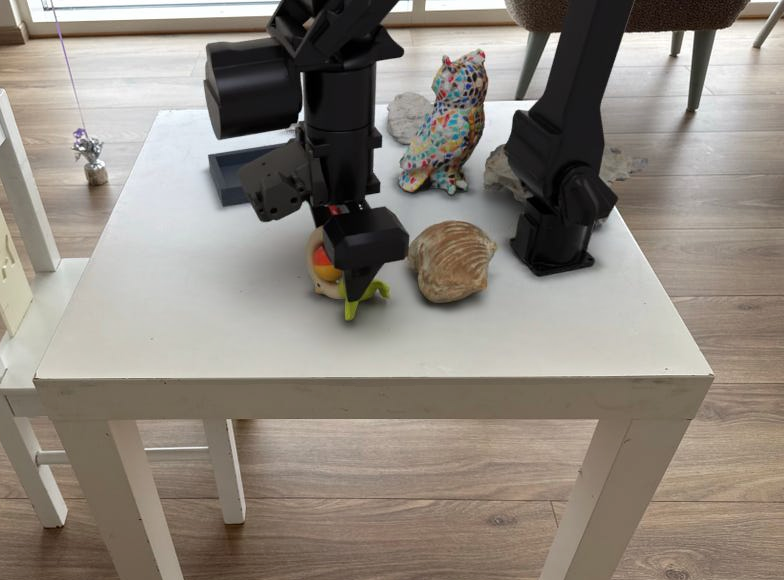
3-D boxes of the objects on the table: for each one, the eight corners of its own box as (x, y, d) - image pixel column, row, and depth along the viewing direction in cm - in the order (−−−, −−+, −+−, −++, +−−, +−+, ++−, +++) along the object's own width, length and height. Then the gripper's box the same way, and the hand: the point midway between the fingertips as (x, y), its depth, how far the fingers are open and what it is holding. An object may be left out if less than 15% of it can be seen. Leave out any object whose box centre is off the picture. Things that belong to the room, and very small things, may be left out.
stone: (413, 136, 92) (369, 92, 97) (407, 166, 96) (365, 122, 101) (475, 115, 95) (430, 73, 100) (466, 144, 99) (423, 103, 104)
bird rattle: (301, 325, 72) (367, 332, 66) (263, 219, 68) (329, 214, 61) (344, 296, 76) (410, 300, 69) (310, 193, 71) (377, 187, 65)
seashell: (475, 263, 77) (399, 263, 76) (489, 202, 72) (408, 201, 72) (499, 315, 69) (415, 316, 69) (515, 251, 65) (426, 250, 64)
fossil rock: (463, 171, 87) (514, 247, 77) (478, 126, 83) (534, 199, 73) (612, 174, 92) (678, 246, 82) (632, 132, 88) (704, 202, 78)
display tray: (299, 157, 94) (298, 140, 93) (318, 190, 88) (317, 173, 86) (210, 171, 92) (207, 154, 91) (222, 206, 86) (220, 189, 84)
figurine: (415, 157, 93) (423, 33, 83) (485, 169, 90) (502, 43, 80) (390, 188, 87) (396, 60, 77) (464, 203, 84) (480, 71, 74)
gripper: (220, 86, 65) (237, 237, 75) (267, 187, 51) (280, 354, 62) (342, 69, 66) (342, 219, 77) (417, 163, 53) (405, 329, 64)
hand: (339, 274), depth 70 cm, fingers closed on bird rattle, 8 cm apart
